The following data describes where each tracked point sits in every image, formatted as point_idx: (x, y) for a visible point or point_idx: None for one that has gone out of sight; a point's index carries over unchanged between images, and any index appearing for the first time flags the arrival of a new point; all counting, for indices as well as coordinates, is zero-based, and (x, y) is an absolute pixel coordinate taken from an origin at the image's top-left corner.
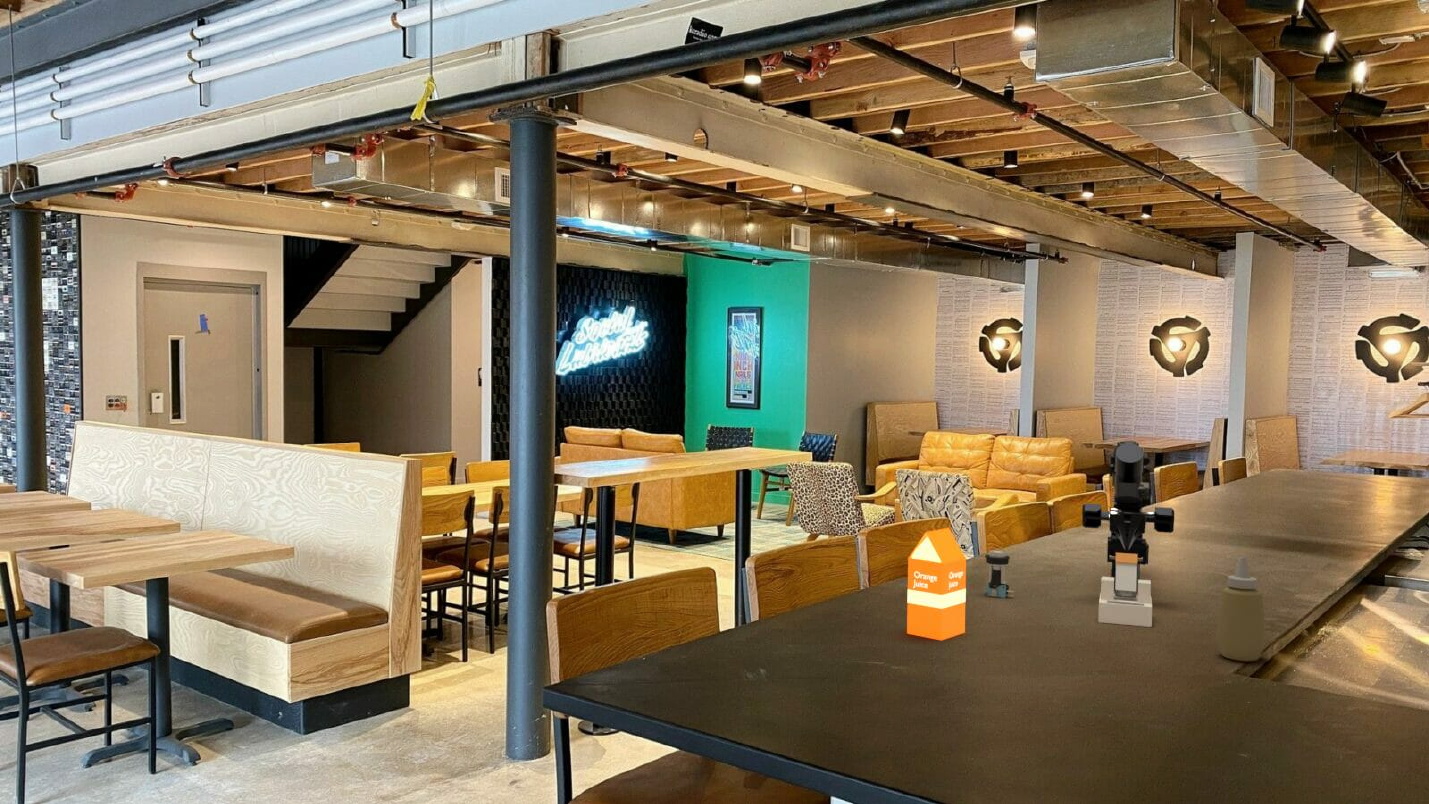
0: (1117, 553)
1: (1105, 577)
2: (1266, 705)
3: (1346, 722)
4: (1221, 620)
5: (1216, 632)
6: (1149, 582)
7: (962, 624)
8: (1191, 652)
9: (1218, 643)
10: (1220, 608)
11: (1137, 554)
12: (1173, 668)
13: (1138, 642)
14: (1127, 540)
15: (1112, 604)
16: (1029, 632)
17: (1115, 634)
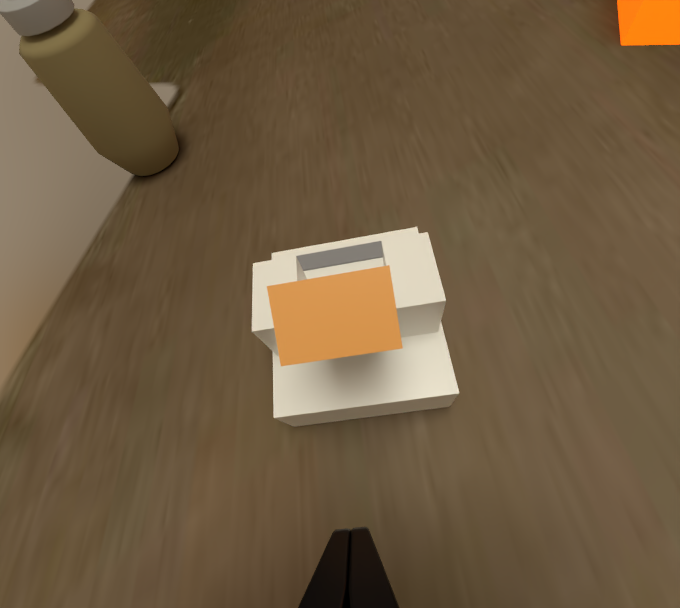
0: (379, 268)
1: (427, 289)
2: (175, 22)
3: (118, 23)
4: (143, 77)
5: (165, 111)
6: (256, 286)
7: (630, 18)
8: (224, 146)
9: (173, 130)
10: (128, 61)
11: (267, 286)
12: (256, 68)
13: (309, 153)
14: (341, 587)
15: (378, 234)
16: (515, 106)
17: (356, 181)
